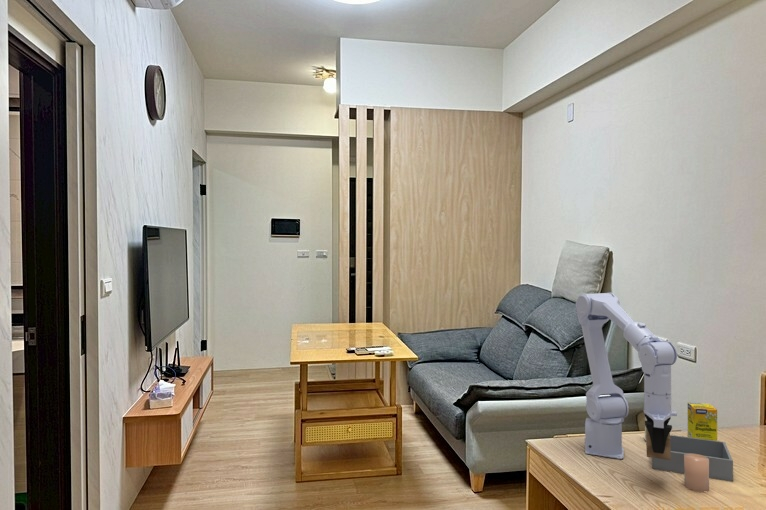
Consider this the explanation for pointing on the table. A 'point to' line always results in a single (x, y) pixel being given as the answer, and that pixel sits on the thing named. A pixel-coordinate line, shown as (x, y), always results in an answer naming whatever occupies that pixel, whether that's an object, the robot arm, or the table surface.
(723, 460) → the tote
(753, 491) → the table surface
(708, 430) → the supplement box
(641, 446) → the table surface
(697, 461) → the terracotta cylinder
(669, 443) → the walnut cube
